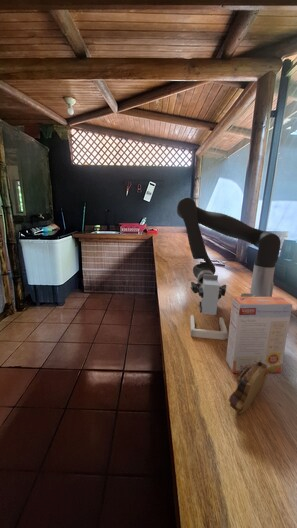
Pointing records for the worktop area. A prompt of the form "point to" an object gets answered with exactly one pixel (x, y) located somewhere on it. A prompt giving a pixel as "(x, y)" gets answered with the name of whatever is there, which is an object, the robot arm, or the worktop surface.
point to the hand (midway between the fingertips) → (210, 296)
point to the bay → (209, 331)
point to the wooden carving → (248, 386)
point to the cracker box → (258, 332)
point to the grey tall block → (209, 295)
